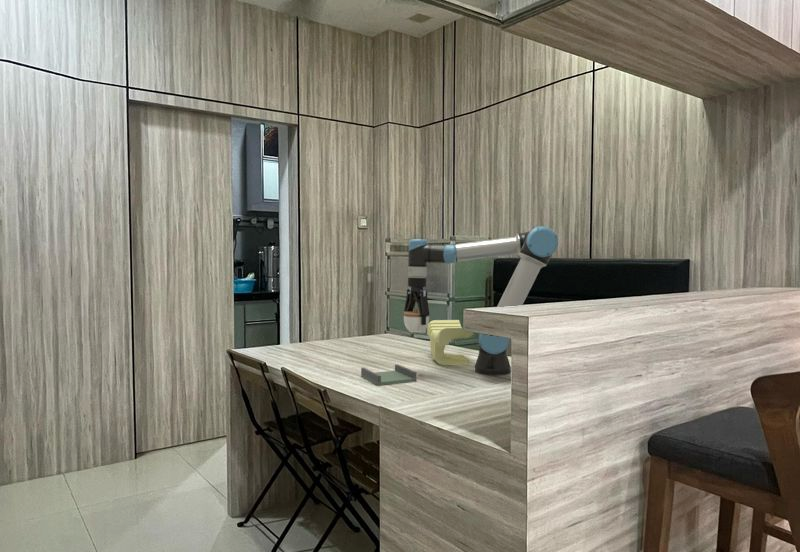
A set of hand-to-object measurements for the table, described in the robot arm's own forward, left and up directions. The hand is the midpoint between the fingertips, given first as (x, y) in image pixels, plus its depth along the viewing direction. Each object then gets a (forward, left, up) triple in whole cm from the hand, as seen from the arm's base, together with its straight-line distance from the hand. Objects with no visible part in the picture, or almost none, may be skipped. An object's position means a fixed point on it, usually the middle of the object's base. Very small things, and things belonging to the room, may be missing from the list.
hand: (415, 331), depth 218 cm
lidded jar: (0, 0, -1) cm, 1 cm away
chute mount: (+13, 0, -19) cm, 22 cm away
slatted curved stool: (-28, -20, -19) cm, 39 cm away
